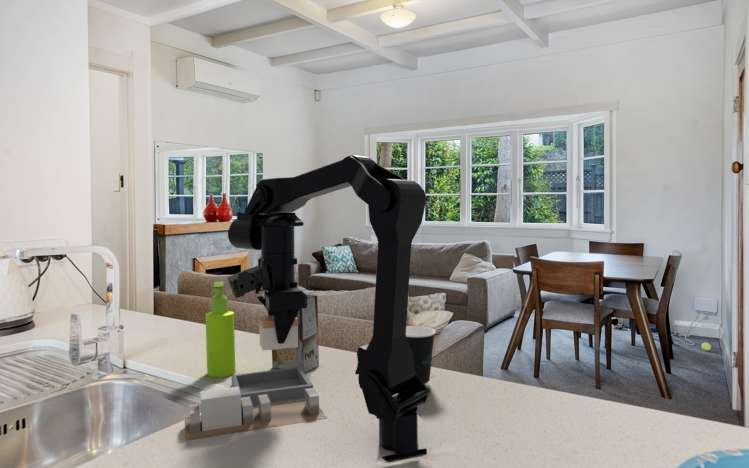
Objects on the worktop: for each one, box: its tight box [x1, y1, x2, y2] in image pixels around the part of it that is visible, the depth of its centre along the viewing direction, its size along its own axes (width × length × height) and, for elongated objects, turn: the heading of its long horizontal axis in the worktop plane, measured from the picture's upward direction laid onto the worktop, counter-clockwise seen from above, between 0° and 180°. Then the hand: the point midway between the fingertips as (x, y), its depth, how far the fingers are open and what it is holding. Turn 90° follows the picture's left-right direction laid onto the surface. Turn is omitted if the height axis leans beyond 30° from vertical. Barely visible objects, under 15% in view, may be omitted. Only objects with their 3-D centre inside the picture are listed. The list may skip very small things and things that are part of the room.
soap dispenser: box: [205, 281, 236, 379], centre depth 112 cm, size 6×7×20 cm
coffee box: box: [271, 294, 320, 373], centre depth 116 cm, size 9×6×16 cm
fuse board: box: [184, 387, 328, 442], centre depth 86 cm, size 9×22×4 cm, turn 110°
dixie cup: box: [406, 325, 436, 387], centre depth 104 cm, size 8×8×11 cm
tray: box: [231, 367, 314, 406], centre depth 99 cm, size 12×14×3 cm
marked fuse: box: [258, 315, 298, 351], centre depth 91 cm, size 4×6×5 cm, turn 111°
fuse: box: [200, 386, 242, 431], centre depth 84 cm, size 4×6×5 cm, turn 110°
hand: (278, 340), depth 91 cm, fingers closed on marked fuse, 4 cm apart
